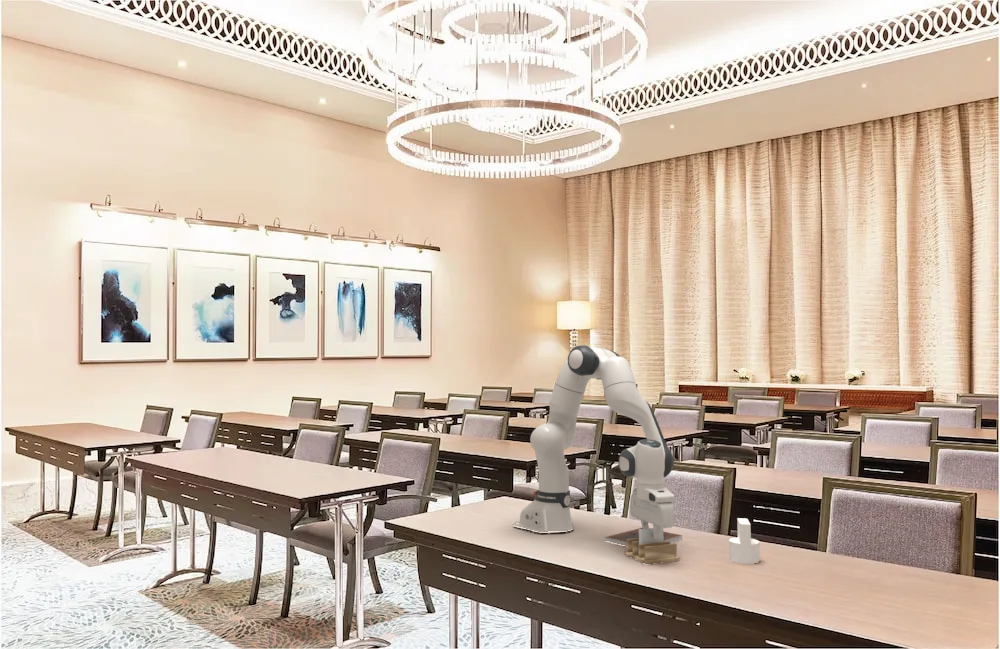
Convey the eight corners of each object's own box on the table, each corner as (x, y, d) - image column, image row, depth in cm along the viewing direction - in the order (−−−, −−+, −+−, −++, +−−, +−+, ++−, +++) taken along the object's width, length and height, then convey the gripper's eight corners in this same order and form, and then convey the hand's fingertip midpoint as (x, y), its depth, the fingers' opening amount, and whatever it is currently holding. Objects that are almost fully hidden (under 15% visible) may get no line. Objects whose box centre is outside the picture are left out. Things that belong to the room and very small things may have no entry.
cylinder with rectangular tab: (761, 565, 229) (760, 525, 229) (730, 563, 231) (730, 523, 231) (757, 557, 238) (757, 518, 238) (727, 555, 240) (727, 517, 240)
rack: (624, 554, 241) (623, 538, 242) (656, 550, 246) (656, 535, 246) (646, 564, 229) (646, 548, 230) (679, 560, 234) (679, 544, 234)
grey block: (639, 555, 237) (638, 529, 237) (660, 552, 240) (660, 527, 240) (641, 556, 236) (641, 530, 236) (663, 553, 239) (663, 528, 239)
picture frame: (644, 553, 246) (682, 541, 260) (644, 545, 246) (682, 534, 261) (604, 543, 258) (643, 533, 273) (604, 536, 258) (643, 526, 273)
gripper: (624, 487, 247) (625, 530, 246) (660, 498, 228) (660, 544, 227) (641, 486, 249) (642, 528, 249) (677, 496, 230) (678, 542, 230)
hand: (651, 536), depth 238 cm, fingers open, 3 cm apart
